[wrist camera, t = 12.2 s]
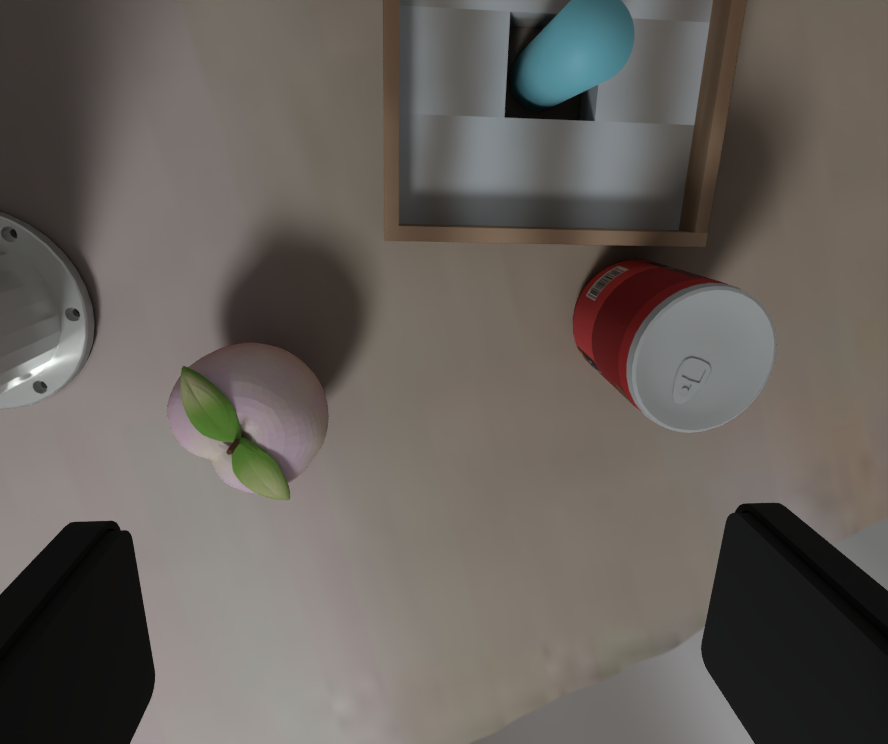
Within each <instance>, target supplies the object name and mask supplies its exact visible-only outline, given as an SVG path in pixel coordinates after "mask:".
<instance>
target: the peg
mask: <svg viewBox="0 0 888 744" xmlns="http://www.w3.org/2000/svg"><path fill="white" fill-rule="evenodd" d="M634 35H635V34H634V24H633V20H632V17H631V14H630V12H629V10H628V9H627V7H626V5H625V4H624V3H623V2H622V1H621V0H571V1H570V2H569V3H568V4H567V5H566V6H565V7H564V8H563V9H562V10H561V11H560V12H559V13H558V14H557V15H556V16H555V17H554V18H553V19H552V21H551V22H550V23H549V24H548V25H547V26H546V27H545V28H544V29H543V30H542V31H541V32H540V33H539V34H538V35H537V36H536V37H535V38H534V39H533V40H532V41H531V42H530V43H529V44H528V45H527V47H526V48H525V49H524V50H523V51H522V52H521V53H520V54H519V55H518V56H517V58H516V59H515V61H514V63H513V65H512V68H511V72H510V86H511V90H512V92H513V95H514V96H515V98H516V99H517V101H518V102H519V103H520V104H521V105H522V106H524V107H526V108H528V109H530V110H535V111H542V110H546V109H549V108H551V107H553V106H555V105H557V104H559V103H561V102H563V101H565V100H567V99H570V98H572V97H574V96H576V95H578V94H580V93H582V92H584V91H586V90H588V89H590V88H592V87H594V86H596V85H598V84H600V83H602V82H605V81H607V80H609V79H611V78H612V77H614V76H615V75H616V74H617V73H618V72H619V71H620V70H621V69H622V68H623V67H624V65H625V64H626V63H627V61H628V59H629V57H630V54H631V52H632V49H633V44H634Z"/></svg>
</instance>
